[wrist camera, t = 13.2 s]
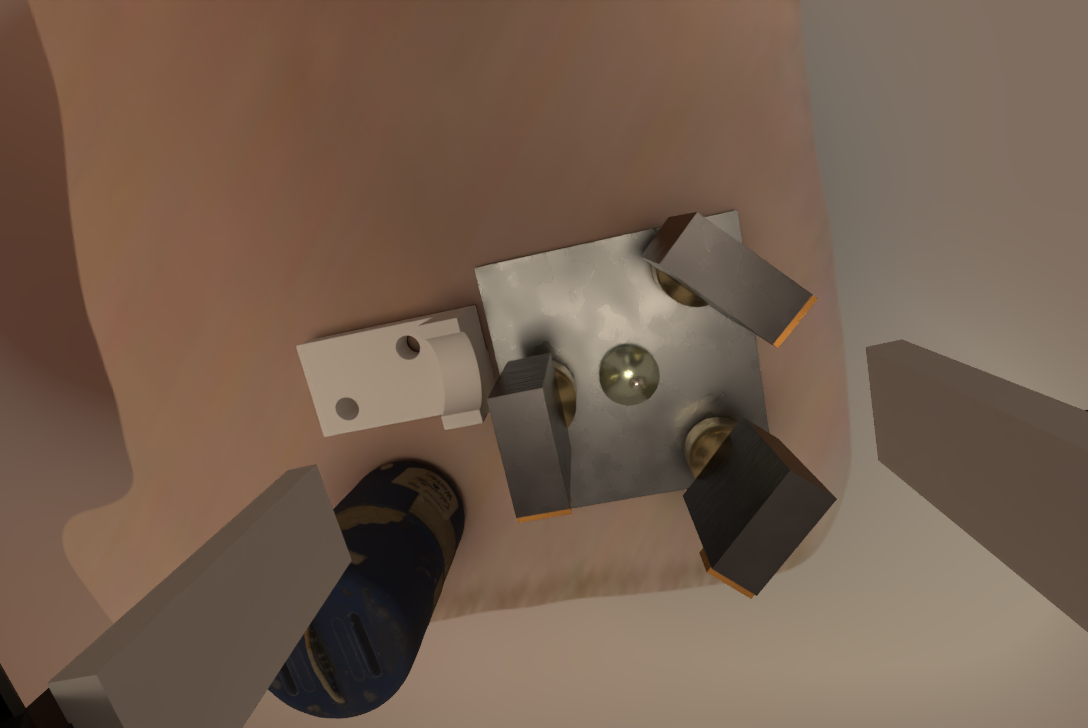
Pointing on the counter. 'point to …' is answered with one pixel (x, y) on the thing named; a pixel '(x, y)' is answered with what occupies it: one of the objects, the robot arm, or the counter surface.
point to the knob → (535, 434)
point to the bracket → (401, 373)
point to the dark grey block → (725, 277)
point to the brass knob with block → (748, 501)
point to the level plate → (624, 359)
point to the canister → (376, 593)
